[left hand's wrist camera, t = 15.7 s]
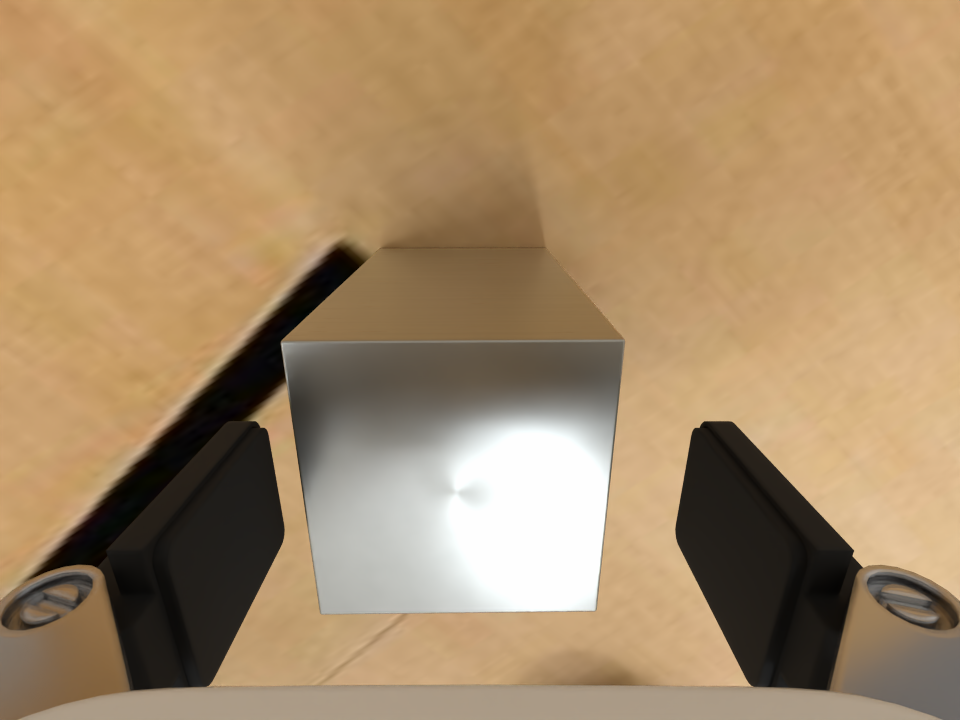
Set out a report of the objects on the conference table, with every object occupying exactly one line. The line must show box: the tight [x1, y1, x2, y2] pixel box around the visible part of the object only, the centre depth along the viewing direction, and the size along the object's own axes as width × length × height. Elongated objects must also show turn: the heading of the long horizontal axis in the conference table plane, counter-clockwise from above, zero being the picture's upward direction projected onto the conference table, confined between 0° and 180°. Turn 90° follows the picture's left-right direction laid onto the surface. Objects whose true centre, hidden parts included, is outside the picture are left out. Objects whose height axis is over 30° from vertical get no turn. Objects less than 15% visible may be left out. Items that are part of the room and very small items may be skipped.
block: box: [281, 248, 625, 614], centre depth 17 cm, size 7×7×12 cm
